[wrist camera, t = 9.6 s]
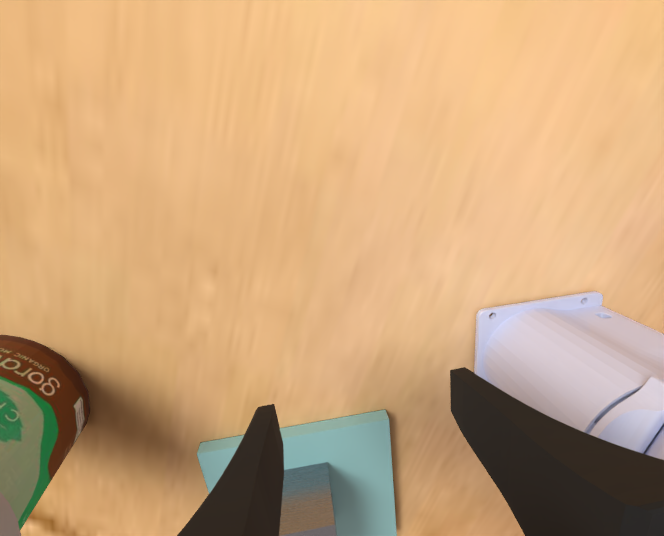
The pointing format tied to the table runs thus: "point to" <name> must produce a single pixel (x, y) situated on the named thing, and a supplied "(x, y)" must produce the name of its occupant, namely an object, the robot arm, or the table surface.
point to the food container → (34, 424)
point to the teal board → (333, 467)
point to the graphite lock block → (307, 502)
